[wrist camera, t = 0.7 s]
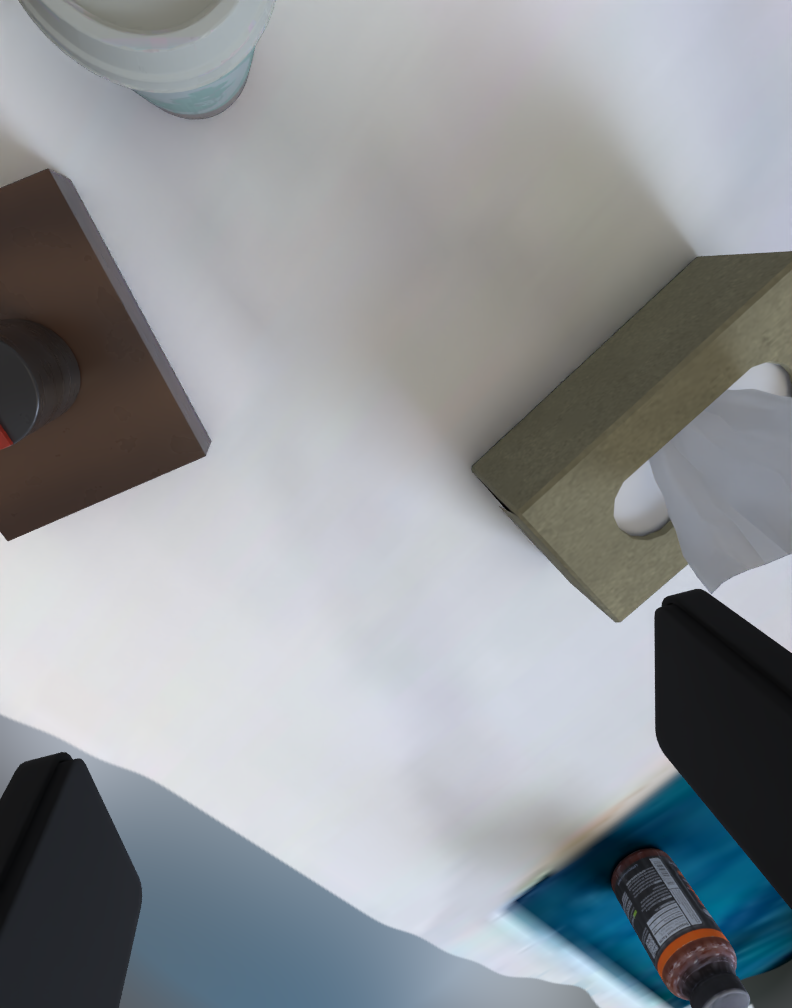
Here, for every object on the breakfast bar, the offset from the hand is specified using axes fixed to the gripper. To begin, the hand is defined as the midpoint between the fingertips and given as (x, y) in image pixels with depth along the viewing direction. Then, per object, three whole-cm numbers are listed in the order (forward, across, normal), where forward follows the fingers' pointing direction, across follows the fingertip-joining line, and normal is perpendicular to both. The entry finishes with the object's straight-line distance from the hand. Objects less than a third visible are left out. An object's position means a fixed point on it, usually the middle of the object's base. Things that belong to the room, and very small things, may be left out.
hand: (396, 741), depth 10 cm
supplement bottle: (+27, -20, +46) cm, 57 cm away
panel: (+27, +13, -5) cm, 30 cm away
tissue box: (+27, -19, +4) cm, 33 cm away
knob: (+24, +13, -5) cm, 27 cm away
